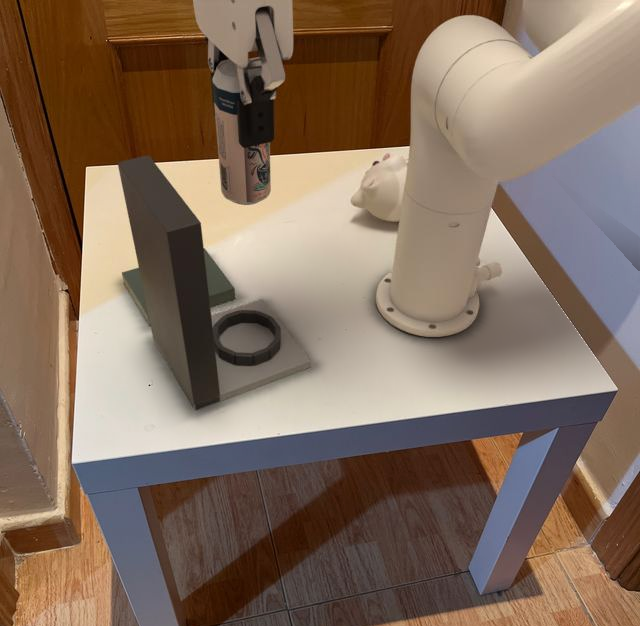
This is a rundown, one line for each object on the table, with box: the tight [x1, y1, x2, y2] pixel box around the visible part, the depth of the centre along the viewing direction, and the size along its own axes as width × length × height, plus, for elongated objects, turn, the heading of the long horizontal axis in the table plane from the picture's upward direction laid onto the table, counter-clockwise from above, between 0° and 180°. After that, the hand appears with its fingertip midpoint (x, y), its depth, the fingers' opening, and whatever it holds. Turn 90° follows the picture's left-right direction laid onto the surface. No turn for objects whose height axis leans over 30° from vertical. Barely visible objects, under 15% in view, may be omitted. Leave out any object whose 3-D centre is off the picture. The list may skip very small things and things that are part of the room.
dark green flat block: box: [121, 248, 236, 328], centre depth 83 cm, size 11×9×4 cm
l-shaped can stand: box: [117, 154, 312, 412], centre depth 69 cm, size 14×12×22 cm
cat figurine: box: [350, 152, 408, 223], centre depth 94 cm, size 10×8×15 cm
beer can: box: [212, 59, 272, 206], centre depth 63 cm, size 5×5×12 cm
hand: (243, 127), depth 62 cm, fingers closed on beer can, 4 cm apart
